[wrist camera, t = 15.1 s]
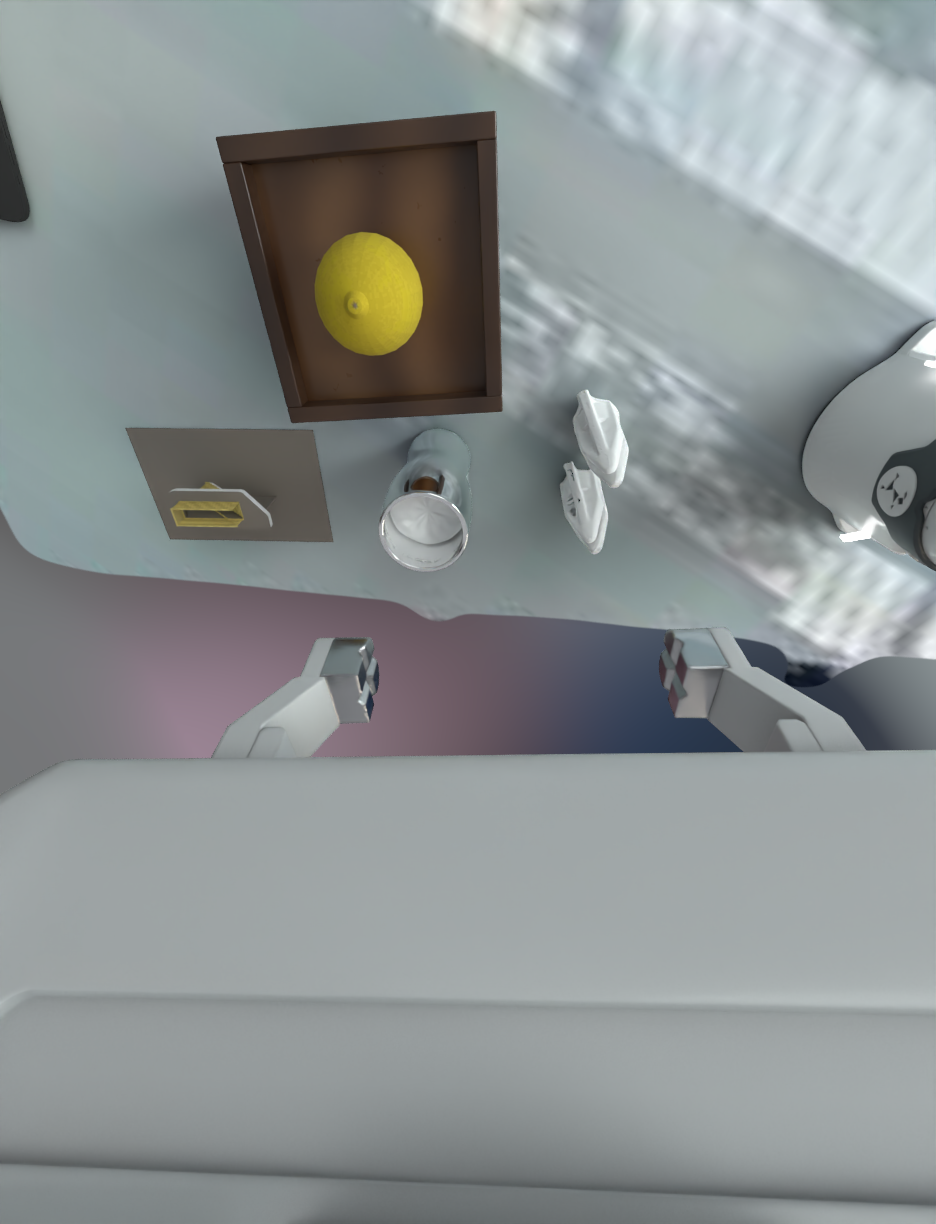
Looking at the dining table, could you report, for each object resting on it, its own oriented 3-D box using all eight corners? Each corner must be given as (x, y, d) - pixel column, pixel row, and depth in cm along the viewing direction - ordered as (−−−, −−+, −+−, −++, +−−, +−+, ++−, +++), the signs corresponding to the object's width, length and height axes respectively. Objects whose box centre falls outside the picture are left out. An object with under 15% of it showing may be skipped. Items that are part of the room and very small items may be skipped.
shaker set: (575, 383, 44) (595, 422, 36) (622, 386, 44) (655, 425, 36) (554, 509, 52) (567, 567, 43) (596, 511, 52) (617, 569, 43)
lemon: (442, 323, 31) (429, 348, 25) (360, 353, 32) (328, 384, 26) (409, 215, 28) (385, 211, 22) (319, 252, 29) (271, 259, 23)
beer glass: (389, 464, 50) (357, 540, 38) (431, 406, 46) (410, 469, 34) (446, 506, 52) (433, 589, 40) (490, 454, 49) (490, 528, 37)
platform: (125, 428, 48) (80, 452, 43) (312, 430, 48) (290, 454, 43) (170, 539, 55) (136, 571, 50) (333, 542, 55) (316, 575, 50)
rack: (494, 147, 35) (496, 110, 24) (499, 365, 44) (502, 412, 33) (298, 164, 36) (214, 136, 25) (340, 375, 45) (291, 423, 34)
